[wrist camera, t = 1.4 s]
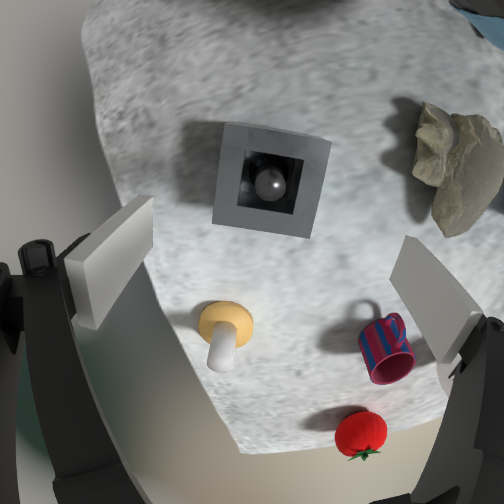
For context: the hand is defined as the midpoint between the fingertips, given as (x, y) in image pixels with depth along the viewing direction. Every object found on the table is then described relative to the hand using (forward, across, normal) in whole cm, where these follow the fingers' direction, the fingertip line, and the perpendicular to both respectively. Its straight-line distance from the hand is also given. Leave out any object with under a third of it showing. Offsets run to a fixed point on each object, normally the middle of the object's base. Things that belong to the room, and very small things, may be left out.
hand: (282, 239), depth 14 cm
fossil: (+17, +19, +5) cm, 26 cm away
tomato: (+16, +25, -42) cm, 52 cm away
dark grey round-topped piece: (+16, 0, 0) cm, 17 cm away
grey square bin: (+16, 0, 0) cm, 17 cm away
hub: (+16, -2, -20) cm, 26 cm away
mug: (+17, +20, -18) cm, 32 cm away
